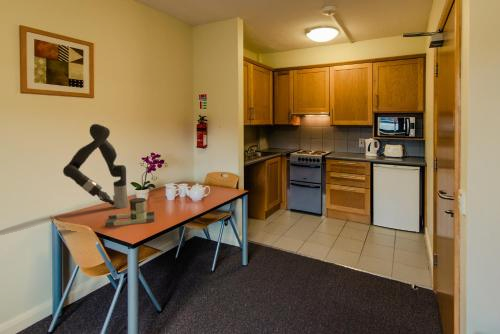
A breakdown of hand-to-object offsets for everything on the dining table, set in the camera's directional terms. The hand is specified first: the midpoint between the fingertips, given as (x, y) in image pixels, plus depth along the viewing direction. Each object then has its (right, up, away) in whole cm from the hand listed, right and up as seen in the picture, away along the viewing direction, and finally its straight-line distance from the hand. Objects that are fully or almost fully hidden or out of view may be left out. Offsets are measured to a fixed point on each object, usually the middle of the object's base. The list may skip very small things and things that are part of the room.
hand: (114, 204), depth 198 cm
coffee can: (+14, -12, +6) cm, 19 cm away
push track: (+10, -12, +5) cm, 16 cm away
